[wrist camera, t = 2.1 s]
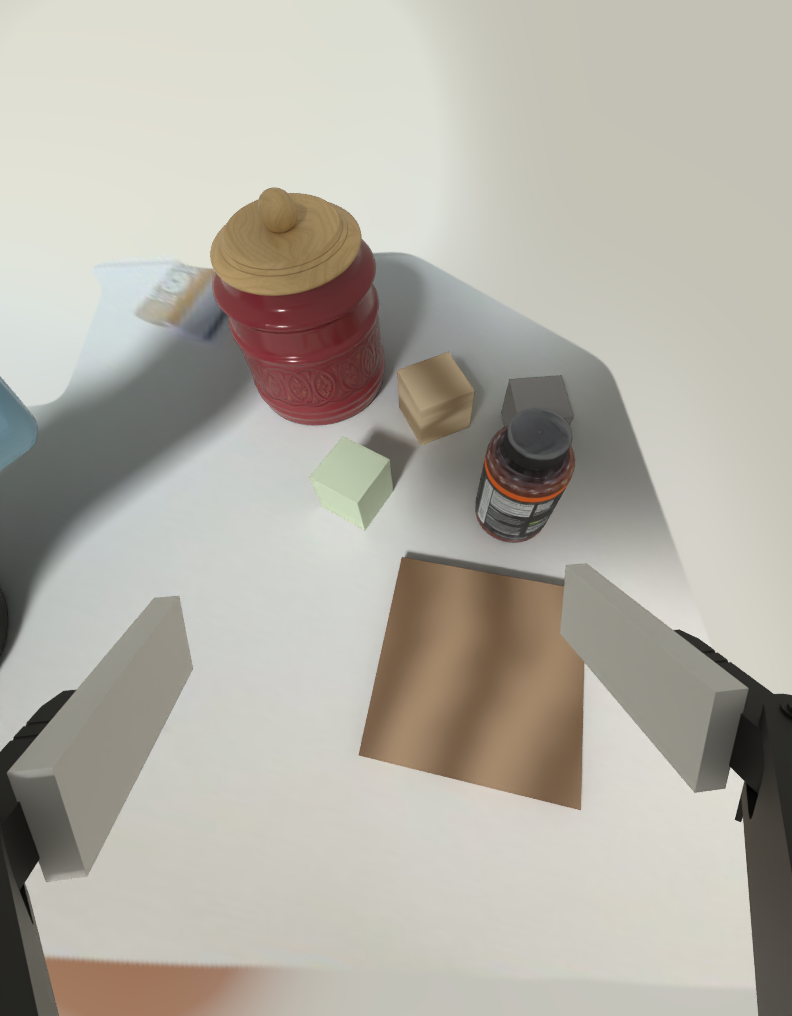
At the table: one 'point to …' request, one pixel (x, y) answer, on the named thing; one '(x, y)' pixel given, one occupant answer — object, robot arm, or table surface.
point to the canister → (301, 305)
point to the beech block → (435, 397)
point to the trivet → (479, 683)
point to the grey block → (536, 397)
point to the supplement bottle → (524, 474)
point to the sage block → (353, 482)
